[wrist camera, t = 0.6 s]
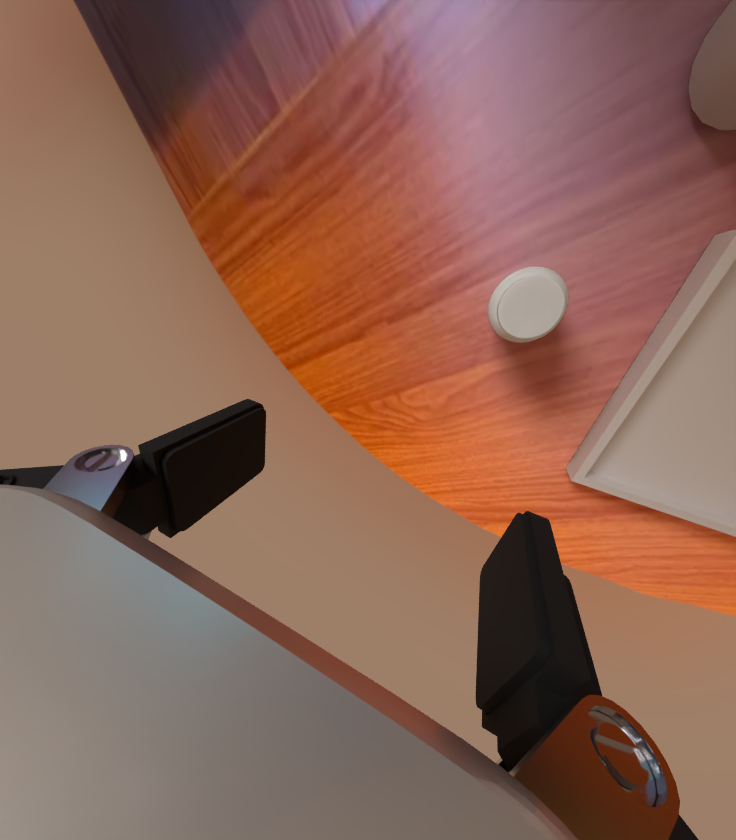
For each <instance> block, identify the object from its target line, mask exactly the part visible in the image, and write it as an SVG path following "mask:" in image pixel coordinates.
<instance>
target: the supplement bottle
mask: <svg viewBox="0 0 736 840" xmlns="http://www.w3.org/2000/svg"><path fill="white" fill-rule="evenodd" d="M568 298H569V297H568V289H567V286H566V284H565V282H564V280H563V279H562V277H561V276H560V275H559V274H557V273H556V272H554V271H553V270H551V269H548V268H545V267H536V266H535V267H527V268H523V269H520V270H517V271H515V272H513V273H512V274H510V275H509V276H507V277H506V278H505V279H504V280H503V281H502V282H500V284H499V285H498V286H497V287H496V289H495V290H494V292H493V294H492V296H491V298H490V301H489V305H488V318H489V322H490V325H491V327H492V328H493V330H494V331H495V332H496V333H497V334H498V335H499V336H500V337H502V338H504V339H506V340H508V341H512V342H518V343H523V342H530V341H534V340H537V339H539V338H541V337H543V336H545V335H546V334H548V333H549V332H551V331H552V330H553V329H554V328H555V327H556V326H557V325H558V324H559V322H560V321H561V319H562V318H563V316H564V314H565V312H566V309H567V306H568Z"/></svg>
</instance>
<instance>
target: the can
mask: <svg viewBox="0 0 736 840" xmlns="http://www.w3.org/2000/svg"><path fill="white" fill-rule="evenodd" d="M688 90H689V96H690V102H691V108H692V110H693V111H694V112H695V114H696V115H697V116H698V118H699V119H700V120H701V122H702V123H704V124H707V125H709V126H711V127H714V128H716V129H718V130H736V0H732V1H731V2H730V3H729V4H728V6H727V7H726V8H725V10H724V11H723V12H722V14H721V15H720V17H719V18H718V19H717V21H716V22H715V24H714V25H713V26H712V28H711V29H710V31H709V32H708V33H707V35H706V36H705V39H704V41H703V43H702V45H701V47H700V49H699V52H698V54H697V56H696V58H695V60H694V62H693V66H692V71H691V77H690V82H689V87H688Z"/></svg>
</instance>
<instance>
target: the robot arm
mask: <svg viewBox="0 0 736 840" xmlns="http://www.w3.org/2000/svg"><path fill="white" fill-rule="evenodd" d="M265 430H266V411H265V410H264V407H263V405H262V404H260V403H257V402H255V401H252V400H250V399H246V400H243V401H241V402H239V403H236V404H234V405H232V406H229V407H227V408H225V409H222V410H220V411H218V412H215V413H213V414H211V415H208V416H206V417H204V418H201V419H199V420H197V421H194V422H192V423H190V424H187V425H185V426H182V427H180V428H178V429H176V430H173V431H171V432H168V433H166V434H164V435H161V436H159V437H157V438H154V439H152V440H150V441H147V442H145V443H143V444H140V445H138V446H139V450H140V454H138V455H136V456H134V453H133V450H132V449H130V448H129V447H126V446H121V445H104V446H99V447H94V448H91V449H88V450H85V451H82V452H80V453H78V454H76V455H75V456H73V457H72V458H71V459H70V460H69V461H68V462H67V463H66V464H65V465H62V466H48V467H34V468H20V469H6V470H0V840H698V839H697V837H696V836H695V835H694V833H693V832H692V831H691V829H690V828H689V827H688V826H687V825H686V823H685V822H684V820H683V819H682V818H681V817H680V815H679V806H680V800H679V795H678V790H677V786H676V782H675V780H674V778H673V775H672V773H671V771H670V768H669V766H668V764H667V762H666V760H665V759H664V757H663V755H662V754H661V752H660V750H659V749H658V747H657V745H656V744H655V742H654V741H653V740H652V739H651V737H650V736H649V735H648V734H647V732H646V731H645V730H644V728H643V727H642V726H641V725H640V724H639V723H638V722H637V721H636V720H635V719H634V718H633V717H632V716H631V715H630V714H629V713H628V712H627V711H626V710H624V709H623V708H622V707H620V706H619V705H617V704H616V703H615V702H613V701H611V700H609V699H607V698H605V697H602V693H601V690H600V686H599V682H598V679H597V675H596V672H595V668H594V664H593V661H592V657H591V654H590V650H589V647H588V643H587V639H586V636H585V632H584V629H583V625H582V622H581V618H580V614H579V611H578V607H577V604H576V600H575V596H574V593H573V589H572V586H571V583H570V581H569V579H568V578H567V577H566V576H565V575H564V574H563V570H562V566H561V563H560V559H559V555H558V551H557V547H556V544H555V540H554V536H553V532H552V528H551V525H550V522H549V520H548V519H546V518H544V517H541V516H539V515H536V514H534V513H531V512H529V511H526V512H525V513H524V514H521V513H517V514H516V516H515V517H514V519H513V520H512V522H511V523H510V525H509V527H508V528H507V530H506V531H505V533H504V534H503V536H502V538H501V539H500V541H499V542H498V544H497V545H496V547H495V549H494V550H493V552H492V553H491V555H490V557H489V558H488V559H487V561H486V563H485V564H484V566H483V568H482V571H481V575H480V593H479V622H478V648H477V676H476V705H477V707H478V708H480V709H481V710H482V727H483V728H484V729H486V730H488V731H489V732H491V733H492V734H494V735H496V736H497V737H498V738H497V739H498V740H497V742H498V753H499V755H500V756H501V758H500V759H499V760H498V761H497V762H496V763H495V762H493V761H492V760H491V759H489V758H488V757H487V756H485V755H484V754H482V753H481V752H480V751H478V750H477V749H476V748H474V747H473V746H471V745H470V744H468V743H467V742H466V741H464V740H463V739H462V738H460V737H458V736H457V735H456V734H454V733H453V732H451V731H449V730H448V729H446V728H445V727H443V726H442V725H440V724H439V723H437V722H436V721H434V720H433V719H431V718H430V717H428V716H427V715H425V714H424V713H422V712H421V711H419V710H417V709H416V708H415V707H413V706H411V705H410V704H408V703H407V702H405V701H404V700H402V699H401V698H399V697H398V696H396V695H395V694H393V693H392V692H390V691H388V690H387V689H385V688H384V687H382V686H381V685H379V684H378V683H376V682H374V681H373V680H371V679H370V678H368V677H367V676H365V675H363V674H362V673H360V672H358V671H357V670H355V669H354V668H352V667H351V666H349V665H348V664H346V663H344V662H343V661H341V660H339V659H338V658H336V657H335V656H333V655H332V654H330V653H329V652H327V651H325V650H324V649H322V648H321V647H319V646H318V645H316V644H314V643H313V642H311V641H310V640H308V639H306V638H305V637H303V636H302V635H300V634H298V633H297V632H295V631H294V630H292V629H291V628H289V627H287V626H286V625H284V624H283V623H281V622H279V621H278V620H276V619H275V618H273V617H271V616H270V615H268V614H266V613H265V612H263V611H262V610H260V609H259V608H257V607H255V606H254V605H252V604H251V603H249V602H247V601H246V600H244V599H243V598H241V597H239V596H238V595H236V594H235V593H233V592H231V591H230V590H228V589H227V588H225V587H223V586H221V585H220V584H219V583H217V582H215V581H214V580H212V579H211V578H209V577H207V576H206V575H204V574H202V573H201V572H199V571H198V570H196V569H194V568H193V567H191V566H190V565H188V564H186V563H185V562H183V561H182V560H180V559H178V558H177V557H175V556H173V555H172V554H170V553H168V552H167V551H165V550H164V549H162V548H160V547H159V546H157V545H156V544H154V543H152V542H151V541H149V540H148V539H149V536H150V533H151V531H152V530H153V529H154V528H155V527H157V526H158V530H159V531H160V532H161V533H163V534H165V535H166V536H168V537H169V538H171V537H173V536H174V535H176V534H177V533H178V532H180V531H184V530H186V529H188V528H189V527H191V526H192V525H193V524H194V523H196V522H197V521H198V520H200V519H201V518H202V517H203V516H204V515H206V514H207V513H209V512H210V511H211V510H212V509H214V508H215V507H216V506H218V505H219V504H220V503H222V502H223V501H224V500H225V499H227V498H228V497H229V496H231V495H232V494H233V493H234V492H236V491H237V490H238V489H239V488H241V487H242V486H244V485H245V484H246V483H247V482H249V481H250V480H251V479H253V478H254V477H255V476H256V475H258V474H259V473H260V472H261V471H262V470H263V468H264V465H265V433H266V431H265Z"/></svg>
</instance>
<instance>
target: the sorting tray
mask: <svg viewBox="0 0 736 840" xmlns="http://www.w3.org/2000/svg"><path fill="white" fill-rule="evenodd" d="M566 470H567V472H568V475H569V477H570V479H571V481H573V482H576V483H579V484H582V485H585V486H588V487H590V488H593V489H596V490H599V491H602V492H605V493H608V494H611V495H614V496H617V497H620V498H623V499H626V500H629V501H632V502H635V503H637V504H640V505H643V506H646V507H649V508H652V509H655V510H658V511H661V512H664V513H667V514H670V515H673V516H676V517H679V518H682V519H684V520H687V521H690V522H693V523H696V524H699V525H702V526H705V527H708V528H711V529H714V530H717V531H720V532H723V533H726V534H728V535H731V536H734V537H736V229H735V230H731V231H727V232H723V233H719V234H716V235H714V237H713V239H712V240H711V242H710V243H709V245H708V246H707V248H706V250H705V251H704V253H703V254H702V256H701V257H700V259H699V260H698V262H697V264H696V265H695V267H694V268H693V270H692V271H691V273H690V275H689V276H688V278H687V279H686V281H685V282H684V284H683V285H682V287H681V289H680V290H679V292H678V293H677V295H676V296H675V298H674V300H673V301H672V303H671V304H670V306H669V307H668V309H667V310H666V312H665V314H664V315H663V317H662V318H661V320H660V321H659V323H658V325H657V326H656V328H655V329H654V331H653V332H652V334H651V335H650V337H649V339H648V340H647V342H646V343H645V345H644V346H643V348H642V350H641V351H640V353H639V354H638V356H637V357H636V359H635V361H634V362H633V364H632V365H631V367H630V368H629V370H628V371H627V373H626V375H625V376H624V378H623V379H622V381H621V382H620V384H619V386H618V387H617V389H616V390H615V392H614V393H613V395H612V396H611V398H610V400H609V401H608V403H607V404H606V406H605V407H604V409H603V411H602V412H601V414H600V415H599V417H598V418H597V420H596V421H595V423H594V425H593V426H592V428H591V429H590V431H589V432H588V434H587V436H586V437H585V439H584V440H583V442H582V443H581V445H580V447H579V448H578V450H577V451H576V453H575V454H574V456H573V457H572V459H571V461H570V462H569V464H568V465H567V467H566Z"/></svg>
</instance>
